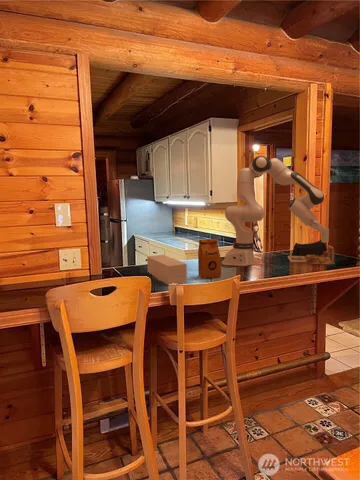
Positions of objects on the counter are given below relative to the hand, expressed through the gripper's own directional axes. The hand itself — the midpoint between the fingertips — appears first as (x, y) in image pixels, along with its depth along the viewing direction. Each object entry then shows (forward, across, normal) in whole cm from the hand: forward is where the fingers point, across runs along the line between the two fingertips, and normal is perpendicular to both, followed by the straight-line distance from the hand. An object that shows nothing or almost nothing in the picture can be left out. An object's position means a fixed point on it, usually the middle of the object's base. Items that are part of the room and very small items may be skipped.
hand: (325, 234), depth 209 cm
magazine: (+11, +29, +16) cm, 35 cm away
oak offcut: (+5, 0, +16) cm, 17 cm away
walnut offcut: (+7, +1, +18) cm, 20 cm away
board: (+4, 0, +4) cm, 5 cm away
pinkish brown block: (-53, -43, +82) cm, 106 cm away
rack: (+12, +1, +16) cm, 20 cm away
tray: (+2, +6, +25) cm, 26 cm away
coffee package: (-36, -39, +64) cm, 83 cm away
